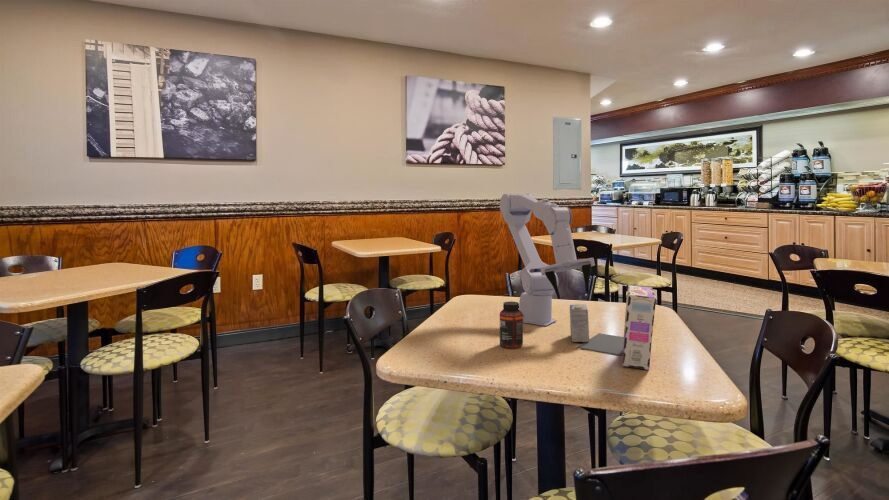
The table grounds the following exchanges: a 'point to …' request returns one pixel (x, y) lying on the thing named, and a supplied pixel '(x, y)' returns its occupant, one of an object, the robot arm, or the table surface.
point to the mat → (604, 344)
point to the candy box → (638, 327)
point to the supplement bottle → (511, 326)
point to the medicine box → (579, 323)
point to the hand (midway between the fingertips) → (573, 295)
